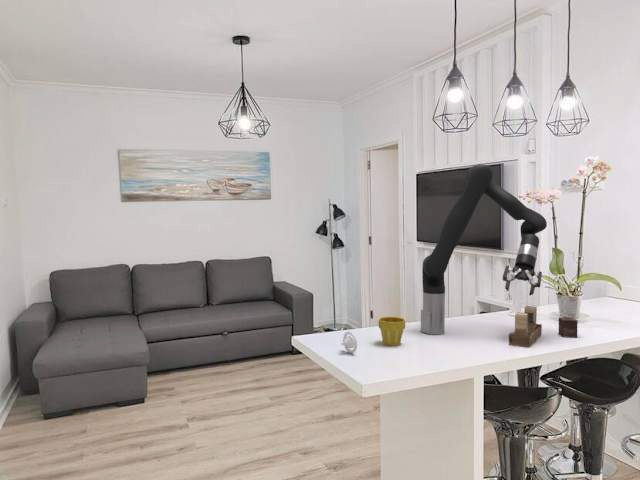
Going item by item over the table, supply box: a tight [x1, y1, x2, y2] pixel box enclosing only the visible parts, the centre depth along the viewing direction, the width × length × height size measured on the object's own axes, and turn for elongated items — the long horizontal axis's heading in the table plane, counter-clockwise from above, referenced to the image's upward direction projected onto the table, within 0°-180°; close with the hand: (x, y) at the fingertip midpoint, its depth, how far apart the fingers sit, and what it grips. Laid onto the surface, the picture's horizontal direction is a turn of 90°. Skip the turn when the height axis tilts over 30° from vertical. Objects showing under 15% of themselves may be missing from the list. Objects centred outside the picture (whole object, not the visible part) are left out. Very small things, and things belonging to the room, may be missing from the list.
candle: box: [508, 271, 523, 318], centre depth 255 cm, size 7×7×25 cm
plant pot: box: [378, 316, 406, 347], centre depth 201 cm, size 10×10×10 cm
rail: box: [508, 305, 543, 349], centre depth 207 cm, size 24×8×12 cm, turn 147°
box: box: [557, 316, 578, 339], centre depth 214 cm, size 6×6×7 cm
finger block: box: [514, 312, 528, 335], centre depth 200 cm, size 4×4×11 cm
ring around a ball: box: [340, 330, 358, 354], centre depth 187 cm, size 8×6×8 cm
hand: (518, 292), depth 202 cm, fingers open, 8 cm apart
